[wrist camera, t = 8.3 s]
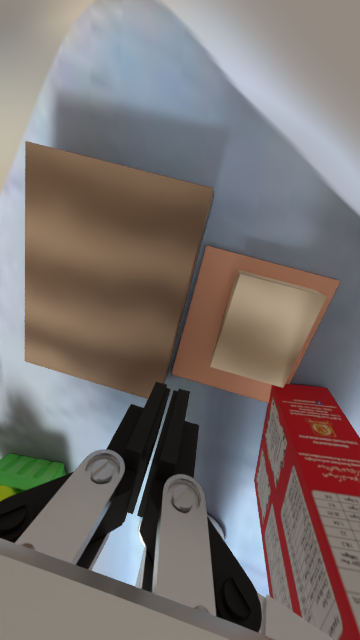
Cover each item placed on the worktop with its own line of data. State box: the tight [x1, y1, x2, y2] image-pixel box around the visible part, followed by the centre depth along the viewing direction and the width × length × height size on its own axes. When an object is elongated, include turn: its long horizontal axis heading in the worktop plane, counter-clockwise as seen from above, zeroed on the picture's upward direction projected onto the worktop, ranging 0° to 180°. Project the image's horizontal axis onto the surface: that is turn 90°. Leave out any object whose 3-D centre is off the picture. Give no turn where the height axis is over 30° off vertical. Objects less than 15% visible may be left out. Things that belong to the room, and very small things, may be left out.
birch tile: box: [210, 270, 326, 388], centre depth 22 cm, size 9×7×2 cm
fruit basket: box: [0, 454, 66, 501], centre depth 31 cm, size 11×9×11 cm
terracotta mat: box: [172, 245, 340, 403], centre depth 24 cm, size 14×12×1 cm
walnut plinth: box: [25, 141, 214, 399], centre depth 23 cm, size 19×14×4 cm
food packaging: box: [254, 384, 360, 640], centre depth 16 cm, size 15×5×25 cm, turn 179°
